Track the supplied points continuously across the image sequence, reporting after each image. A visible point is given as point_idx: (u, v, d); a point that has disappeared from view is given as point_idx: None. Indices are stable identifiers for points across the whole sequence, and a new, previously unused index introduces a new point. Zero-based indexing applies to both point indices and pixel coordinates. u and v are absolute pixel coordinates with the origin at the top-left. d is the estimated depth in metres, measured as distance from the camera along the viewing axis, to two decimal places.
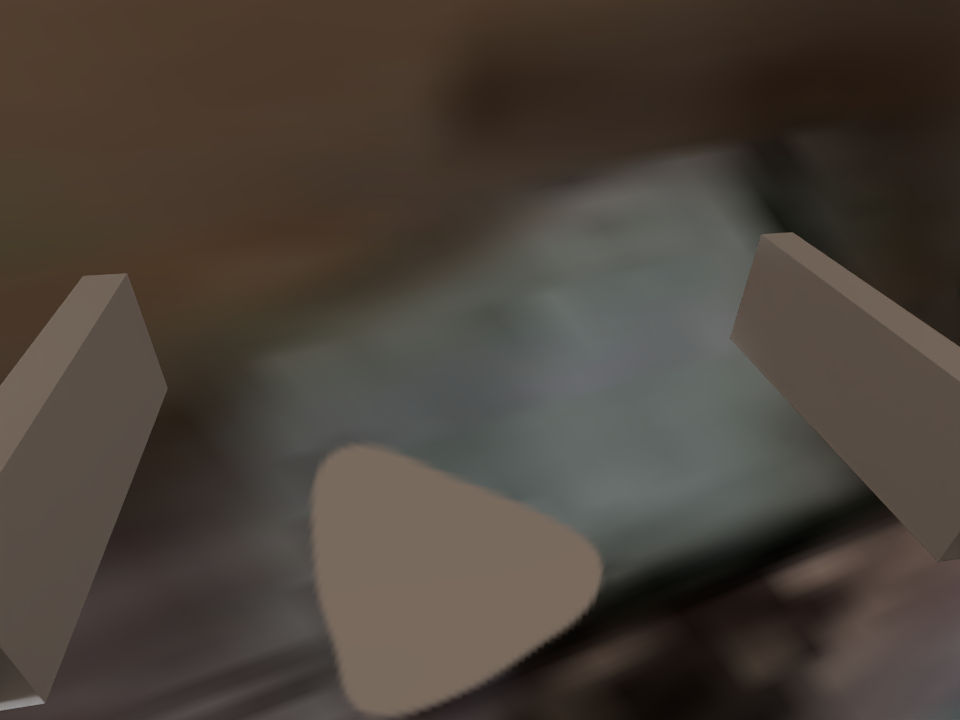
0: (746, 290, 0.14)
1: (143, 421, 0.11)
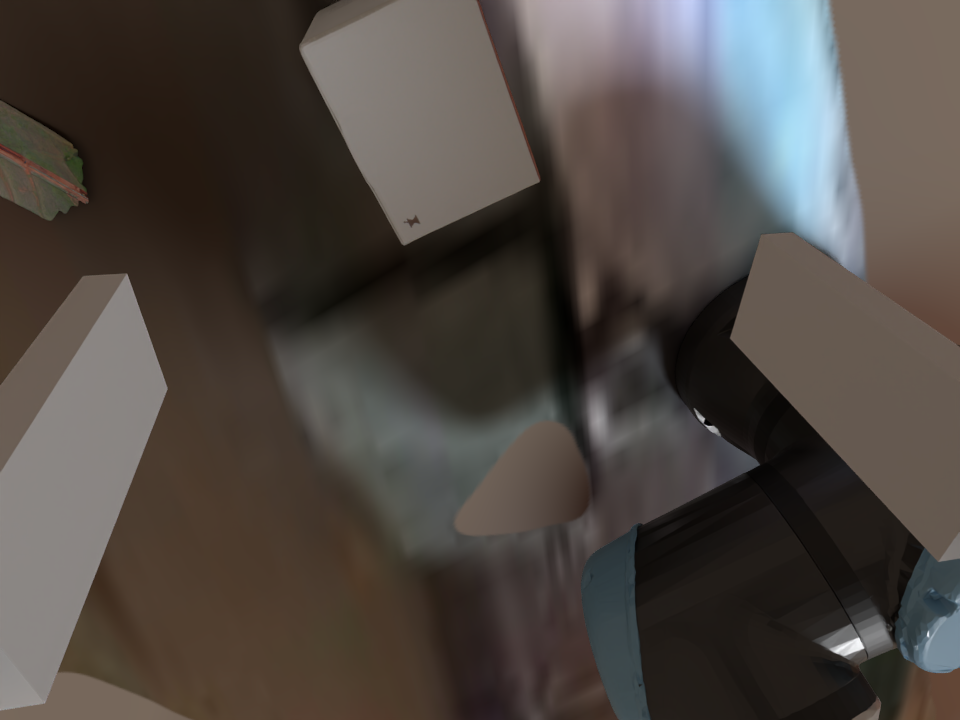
0: (746, 290, 0.14)
1: (143, 421, 0.11)
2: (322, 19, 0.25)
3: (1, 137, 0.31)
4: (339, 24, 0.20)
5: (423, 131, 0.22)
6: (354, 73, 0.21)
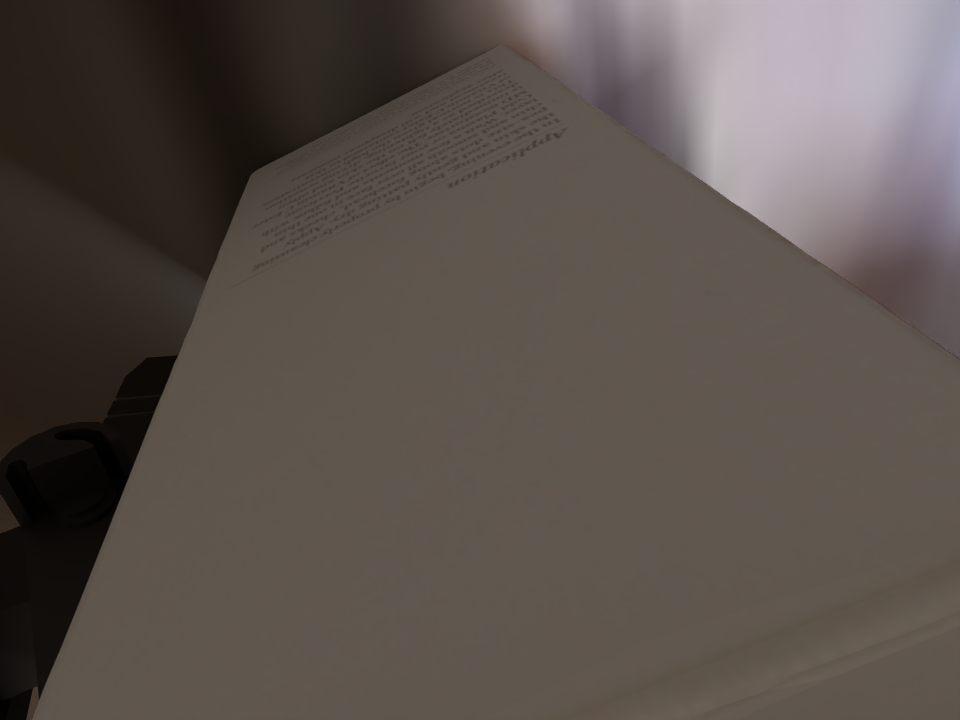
0: None
1: None
2: (222, 325, 0.07)
3: None
4: None
5: None
6: None
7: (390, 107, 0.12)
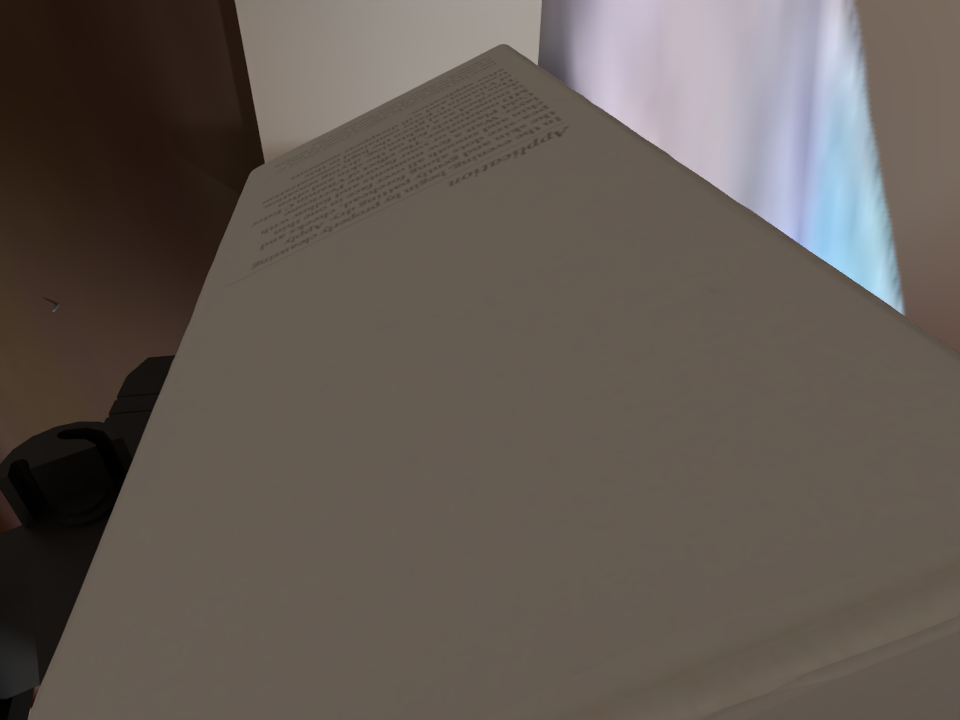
0: None
1: None
2: (221, 323, 0.07)
3: None
4: None
5: None
6: None
7: (390, 105, 0.12)
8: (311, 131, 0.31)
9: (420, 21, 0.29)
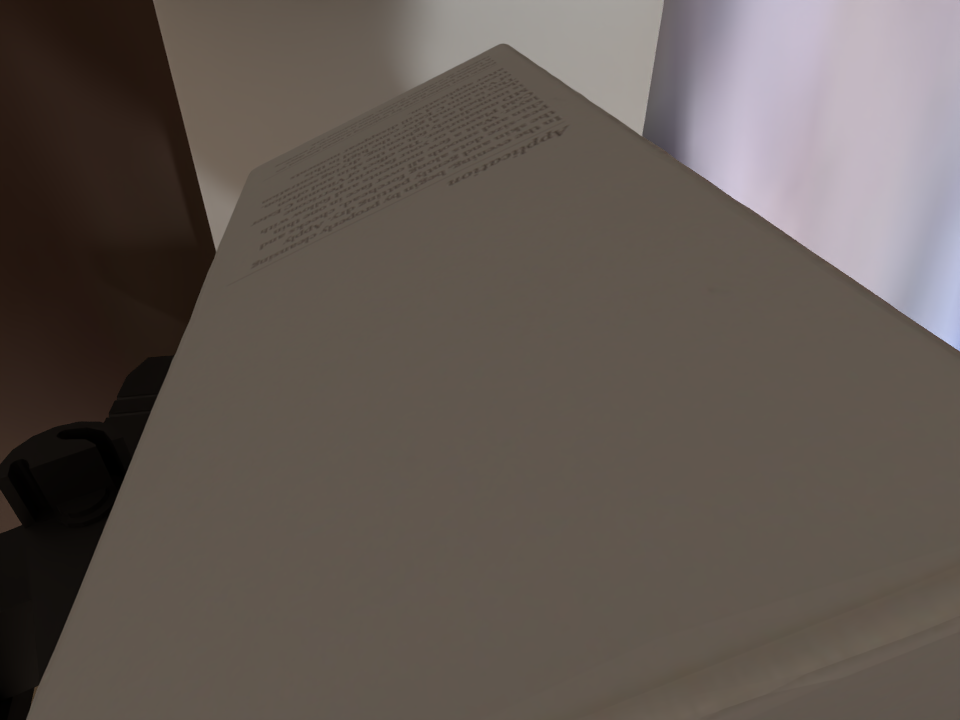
0: None
1: None
2: (220, 322, 0.07)
3: None
4: None
5: None
6: None
7: (390, 105, 0.12)
8: None
9: None
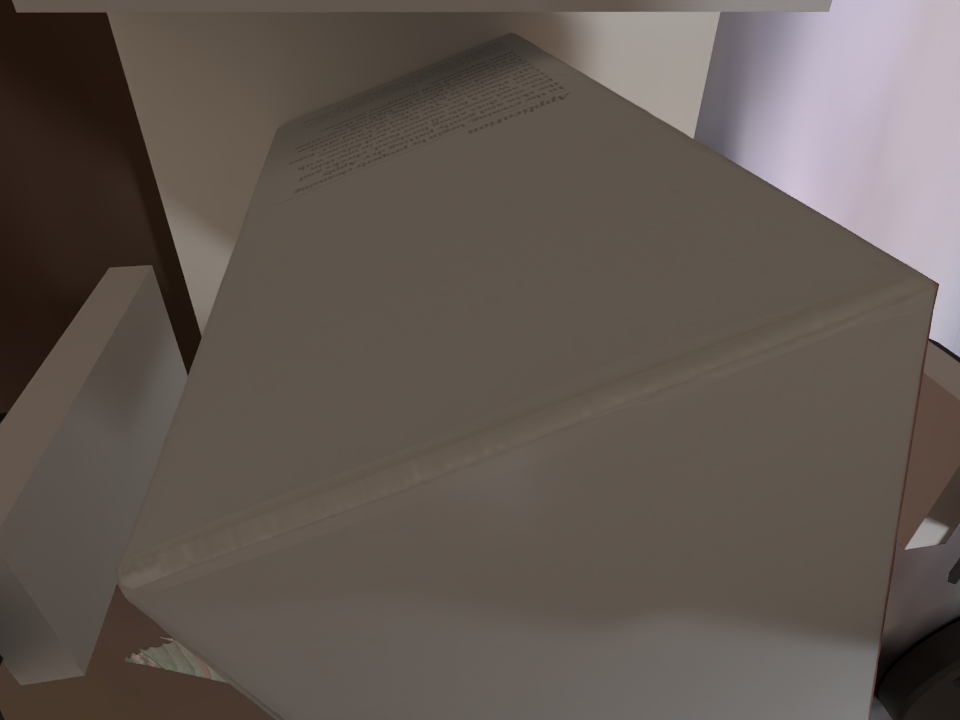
0: None
1: (167, 409, 0.12)
2: (272, 229, 0.09)
3: None
4: (308, 494, 0.04)
5: (585, 715, 0.07)
6: (364, 631, 0.05)
7: (409, 77, 0.14)
8: None
9: None
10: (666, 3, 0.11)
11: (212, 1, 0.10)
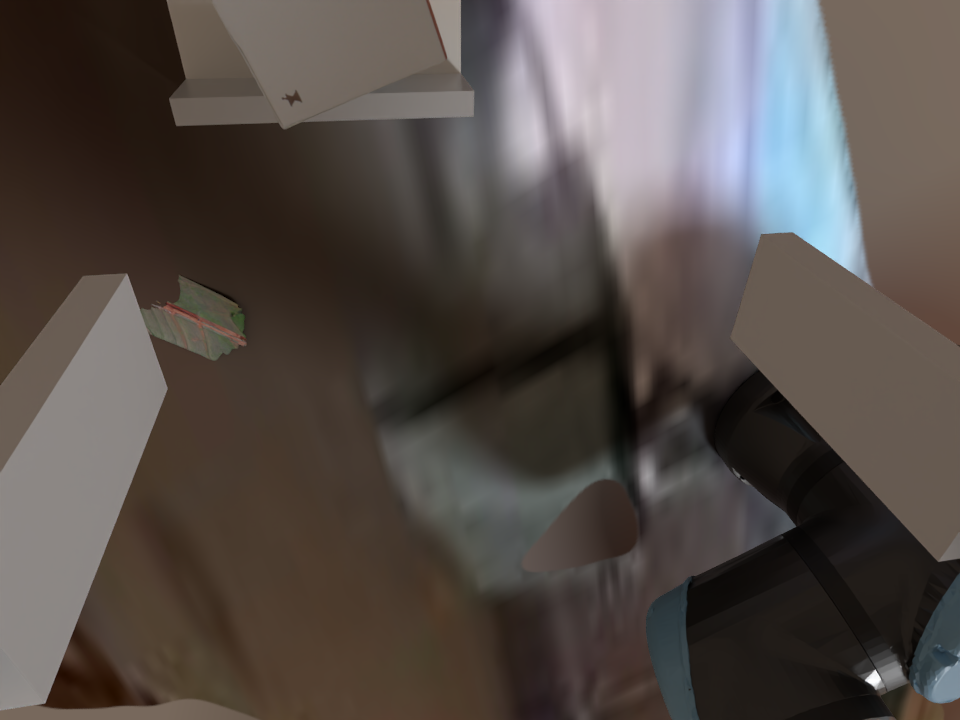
0: (746, 290, 0.14)
1: (143, 421, 0.11)
2: None
3: (181, 303, 0.39)
4: None
5: None
6: None
7: None
8: None
9: None
10: None
11: None
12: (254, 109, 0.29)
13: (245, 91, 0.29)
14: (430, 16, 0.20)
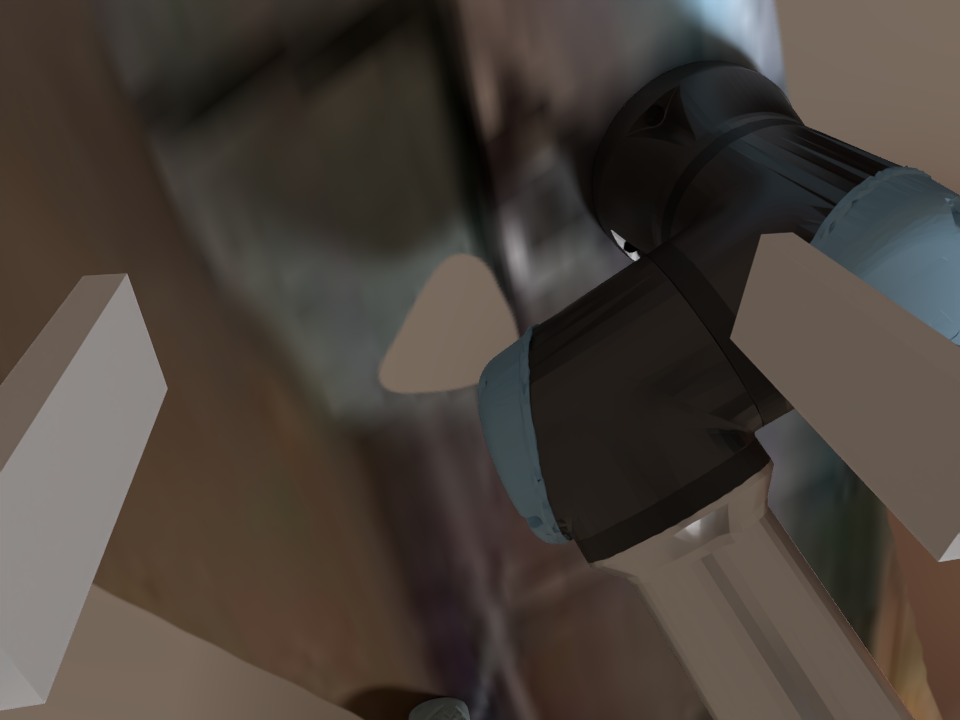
0: (746, 290, 0.14)
1: (143, 421, 0.11)
2: None
3: None
4: None
5: None
6: None
7: None
8: None
9: None
10: None
11: None
12: None
13: None
14: None
